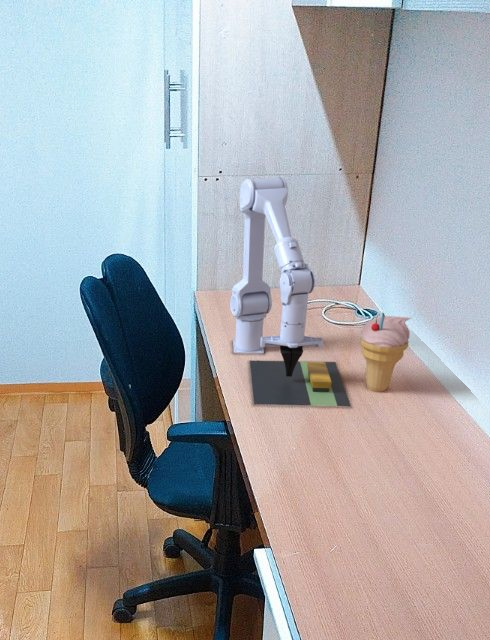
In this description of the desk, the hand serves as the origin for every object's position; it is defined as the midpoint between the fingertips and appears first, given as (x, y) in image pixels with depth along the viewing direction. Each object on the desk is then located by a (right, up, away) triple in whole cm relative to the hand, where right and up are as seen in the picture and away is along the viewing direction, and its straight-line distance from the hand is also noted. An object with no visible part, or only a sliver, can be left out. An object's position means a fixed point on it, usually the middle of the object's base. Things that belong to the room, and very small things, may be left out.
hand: (288, 374), depth 177 cm
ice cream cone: (+21, -4, -1) cm, 21 cm away
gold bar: (+7, -2, 0) cm, 7 cm away
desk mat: (+2, -2, +1) cm, 3 cm away
